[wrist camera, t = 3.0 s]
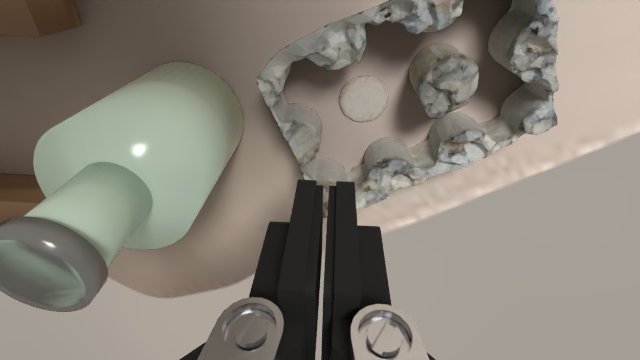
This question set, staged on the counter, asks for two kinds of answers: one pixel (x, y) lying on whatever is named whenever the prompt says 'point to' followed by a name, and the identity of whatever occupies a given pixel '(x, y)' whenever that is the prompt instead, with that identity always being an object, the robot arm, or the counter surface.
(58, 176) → the bottle
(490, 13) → the counter surface
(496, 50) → the egg carton
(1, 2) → the rest
